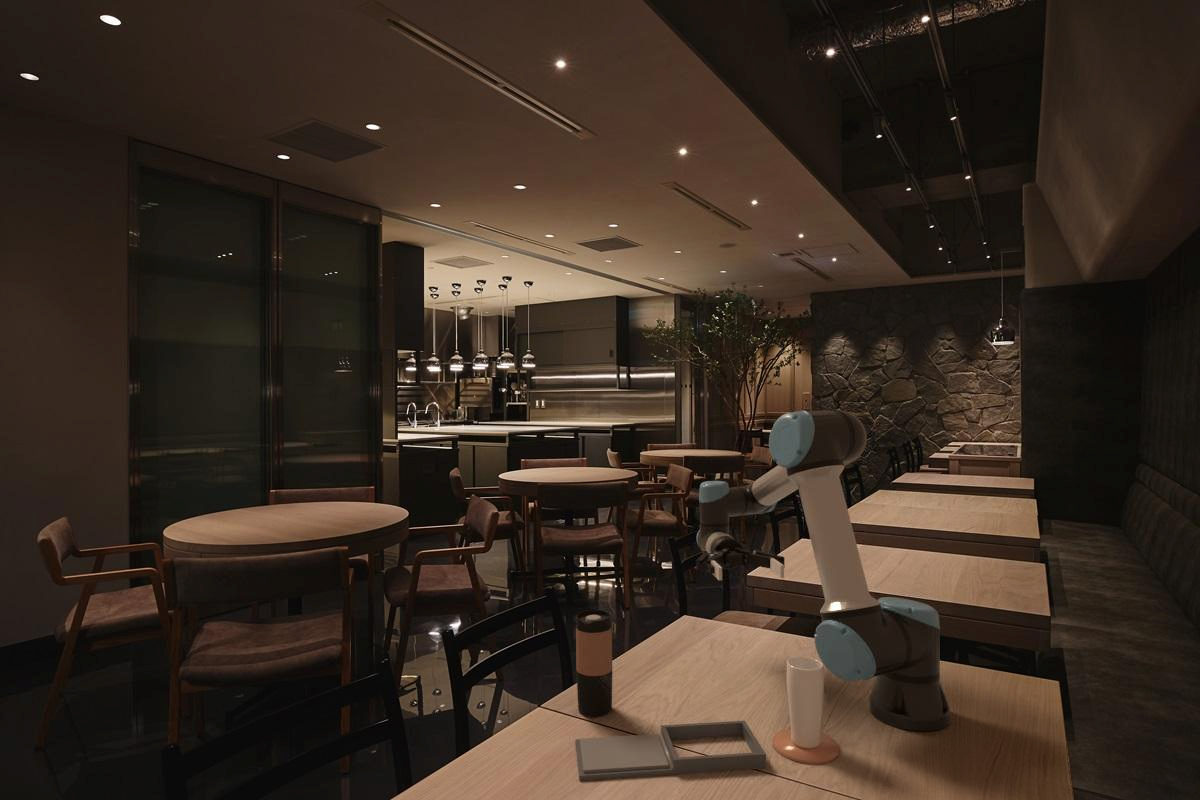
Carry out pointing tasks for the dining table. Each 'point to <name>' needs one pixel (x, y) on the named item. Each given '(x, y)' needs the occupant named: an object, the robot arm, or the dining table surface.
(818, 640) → the robot arm
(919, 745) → the dining table surface
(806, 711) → the drinking glass
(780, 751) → the coaster
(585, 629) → the travel mug
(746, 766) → the open case
